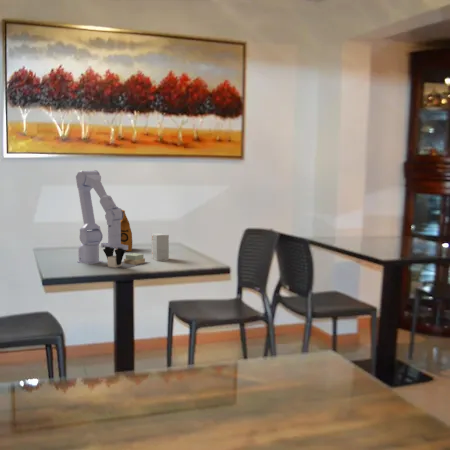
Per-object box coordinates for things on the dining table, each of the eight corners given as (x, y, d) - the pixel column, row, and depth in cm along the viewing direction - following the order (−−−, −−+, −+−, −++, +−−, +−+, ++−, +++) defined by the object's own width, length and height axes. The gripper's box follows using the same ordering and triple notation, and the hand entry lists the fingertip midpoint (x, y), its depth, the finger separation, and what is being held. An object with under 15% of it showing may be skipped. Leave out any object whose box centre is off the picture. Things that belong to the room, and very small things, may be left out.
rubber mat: (102, 266, 270) (102, 266, 270) (129, 260, 287) (129, 260, 287) (124, 269, 264) (124, 269, 264) (151, 263, 281) (151, 262, 281)
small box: (168, 261, 288) (168, 234, 287) (156, 261, 286) (156, 235, 284) (163, 258, 296) (163, 232, 294) (151, 259, 293) (151, 233, 291)
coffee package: (114, 252, 314) (114, 211, 312) (113, 248, 326) (112, 209, 324) (133, 251, 316) (133, 211, 314) (131, 248, 328) (131, 209, 326)
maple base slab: (124, 263, 278) (124, 259, 278) (133, 261, 284) (133, 257, 284) (135, 264, 275) (135, 260, 275) (144, 262, 281) (144, 258, 281)
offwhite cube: (107, 266, 269) (107, 256, 269) (114, 265, 273) (114, 255, 273) (115, 267, 267) (115, 257, 267) (121, 266, 271) (121, 256, 270)
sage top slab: (125, 259, 278) (125, 254, 278) (133, 257, 283) (133, 253, 283) (135, 260, 275) (135, 256, 275) (143, 258, 280) (143, 254, 280)
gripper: (96, 234, 269) (96, 263, 270) (121, 236, 262) (121, 266, 263) (106, 233, 275) (107, 261, 276) (131, 235, 268) (131, 264, 269)
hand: (114, 264), depth 270 cm, fingers closed on offwhite cube, 4 cm apart
